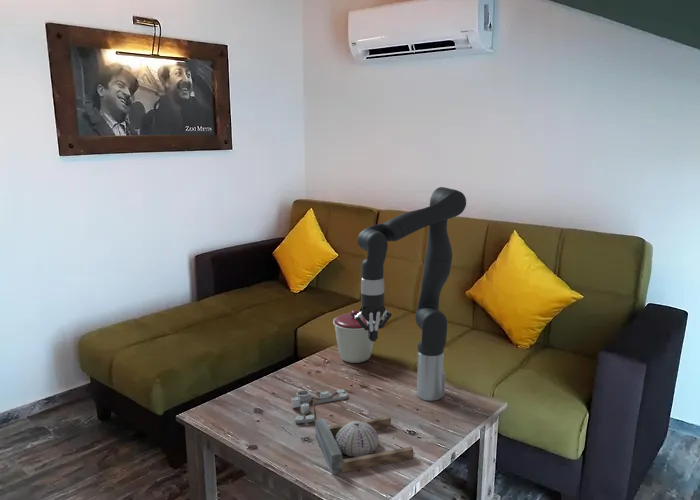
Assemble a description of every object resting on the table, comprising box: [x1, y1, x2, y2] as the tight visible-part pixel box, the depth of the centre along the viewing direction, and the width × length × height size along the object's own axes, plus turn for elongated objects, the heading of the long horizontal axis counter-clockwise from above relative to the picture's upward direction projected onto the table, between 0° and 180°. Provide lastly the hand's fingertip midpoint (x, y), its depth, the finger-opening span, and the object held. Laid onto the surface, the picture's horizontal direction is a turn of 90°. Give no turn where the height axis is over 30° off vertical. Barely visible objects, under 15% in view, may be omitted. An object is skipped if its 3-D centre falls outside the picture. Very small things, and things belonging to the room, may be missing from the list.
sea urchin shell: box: [334, 420, 380, 458], centre depth 174 cm, size 13×14×8 cm
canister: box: [332, 309, 374, 364], centre depth 236 cm, size 18×18×21 cm
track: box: [314, 415, 414, 475], centre depth 174 cm, size 25×20×6 cm
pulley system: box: [290, 388, 349, 424], centre depth 201 cm, size 27×5×15 cm
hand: (372, 340), depth 188 cm, fingers closed
